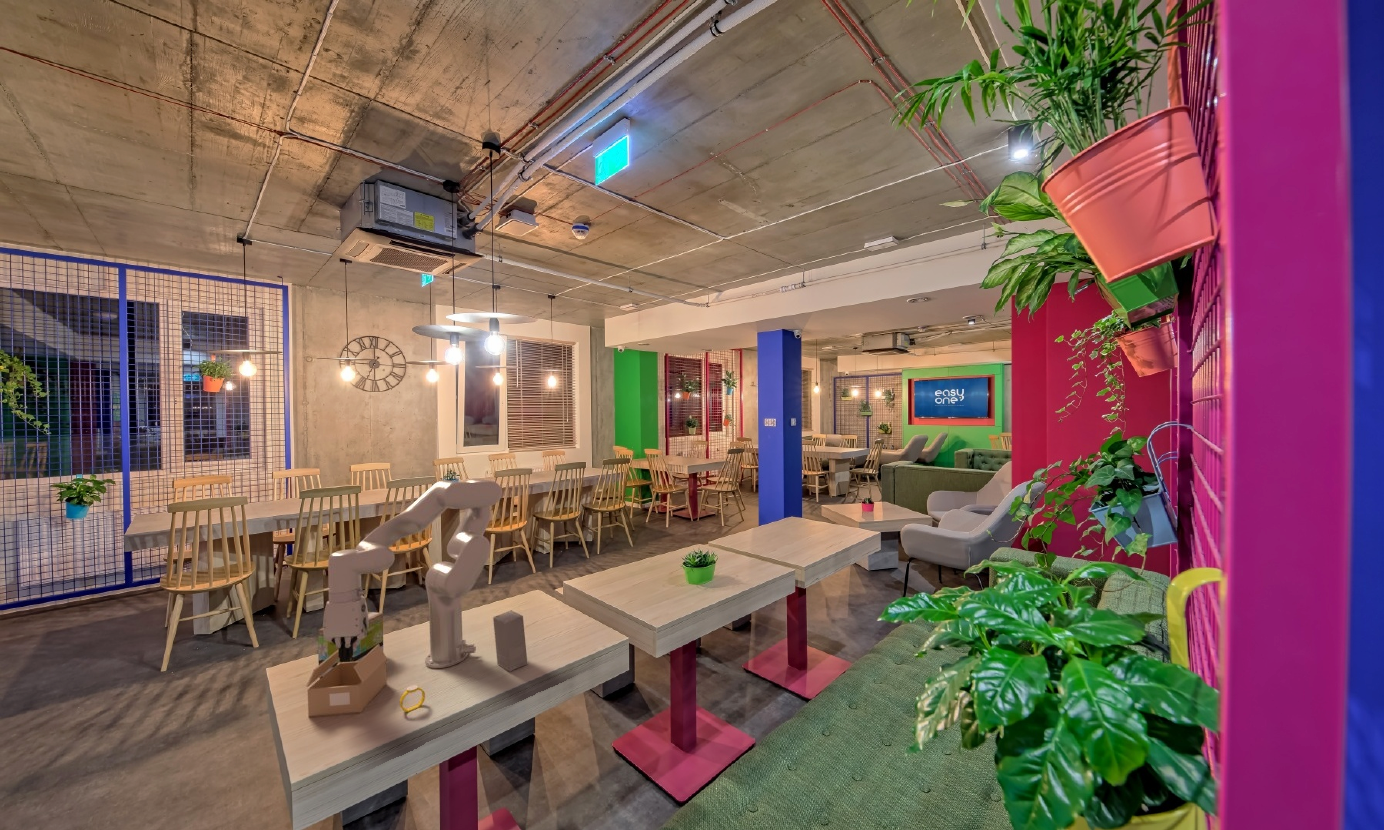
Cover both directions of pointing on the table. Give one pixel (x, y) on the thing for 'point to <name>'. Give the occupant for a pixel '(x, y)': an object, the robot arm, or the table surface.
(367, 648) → the tea box
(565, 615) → the table surface
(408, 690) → the watch
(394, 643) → the table surface
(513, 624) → the skincare box
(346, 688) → the carton
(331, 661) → the flap
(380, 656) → the flap
